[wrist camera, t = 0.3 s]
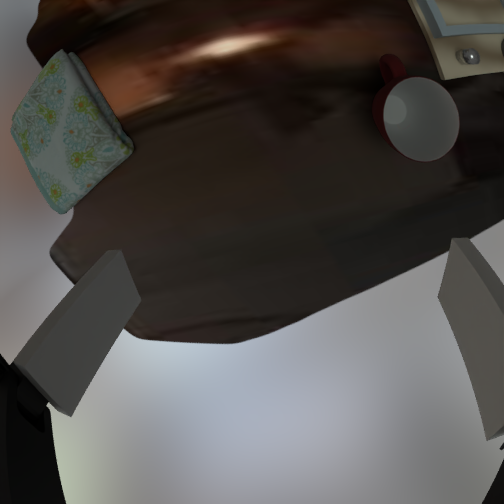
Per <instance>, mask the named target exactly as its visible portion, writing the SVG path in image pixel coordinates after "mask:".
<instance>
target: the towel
mask: <svg viewBox="0 0 504 504" xmlns="http://www.w3.org/2000/svg"><path fill="white" fill-rule="evenodd" d="M12 121H13V124H12V127H11V134H12V136H13V138H14V140H15V142H16V144H17V146H18V147H19V149H20V152H21V154H22V156H23V158H24V160H25V162H26V165H27V167H28V169H29V171H30V173H31V175H32V177H33V179H34V181H35V182H36V185H37V186H38V188H39V190H40V192H41V193H42V194H43V196H44V198H45V199H46V201H47V202H48V204H49V205H50V207H51V208H52V209H53V210H55V211H56V212H58V213H59V214H65V213H67V211H68V210H70V209H71V208H72V207H73V206H75V205H76V204H77V203H78V202H79V201H80V200H81V199H82V198H83V197H84V196H85V195H86V194H87V193H88V192H89V191H90V190H91V189H92V188H94V187H95V186H96V185H97V184H98V183H99V182H100V181H101V180H102V179H103V178H104V177H105V176H107V175H108V174H109V173H110V172H111V171H113V170H114V169H115V168H116V167H117V166H119V165H120V164H121V163H122V162H123V161H124V160H125V159H127V158H128V157H129V156H130V155H131V154H132V153H133V151H134V146H133V142H132V140H131V139H130V138H129V137H128V136H126V134H125V133H124V132H123V130H122V127H121V124H120V122H119V121H118V119H117V118H116V116H115V115H114V113H113V111H112V110H111V108H110V107H109V105H108V103H107V102H106V100H105V98H104V97H103V95H102V93H101V92H100V90H99V89H98V87H97V86H96V84H95V82H94V81H93V79H92V77H91V76H90V74H89V72H88V71H87V69H86V67H85V65H84V64H83V63H82V61H81V59H80V58H79V57H78V56H77V55H75V53H73V52H70V53H69V54H66V53H65V52H64V50H63V49H61V50H60V51H59V52H57V53H56V54H55V55H54V56H53V57H52V58H51V59H50V60H49V61H48V63H47V64H46V65H45V67H44V68H43V70H42V71H41V72H40V74H39V75H38V77H37V78H36V80H35V81H34V83H33V85H32V86H31V88H30V89H29V91H28V93H27V94H26V96H25V97H24V99H23V100H22V101H21V103H20V105H19V106H18V108H17V110H16V111H15V113H14V115H13V117H12Z"/></svg>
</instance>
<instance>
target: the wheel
mask: <svg viewBox="0 0 504 504" xmlns="http://www.w3.org/2000/svg"><path fill="white" fill-rule="evenodd" d="M501 50H502V54H503V56H504V39H503V40H502V43H501Z"/></svg>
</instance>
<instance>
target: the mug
mask: <svg viewBox="0 0 504 504" xmlns="http://www.w3.org/2000/svg"><path fill="white" fill-rule="evenodd" d="M379 64H380V70H381V73H382V76H383V79H384V81H385V84H386V85H385V86H384V87H382V88H381V89H380V90H379V91H378V92H377V94H376V95H375V97H374V100H373V103H372V115H373V119H374V121H375V124H376V126H377V128H378V130H379V132H380V133H381V135H382V137H383V138H384V139H385V141H386V142H387V143H388V144H389V145H390V146H391V147H392V148H393V149H395V150H396V151H397V152H399V153H400V154H402V155H403V156H405V157H406V158H409V159H411V160H414V161H417V162H432V161H435V160H438V159H440V158H442V157H443V156H445V155H446V154H447V153H448V152H449V151H450V150H451V149H452V147H453V146H454V144H455V142H456V140H457V137H458V134H459V128H460V119H459V113H458V109H457V106H456V104H455V101H454V100H453V98H452V96H451V95H450V93H449V92H448V91H447V90H446V89H445V88H444V87H443V86H442V85H441V84H439V83H438V82H436V81H434V80H432V79H429V78H426V77H421V76H409V75H407V73H406V70H405V67H404V65H403V63H402V62H401V60H400V59H399V58H398V57H396V56H395V55H392V54H386V55H383V56H382V57H381V58H380V61H379Z"/></svg>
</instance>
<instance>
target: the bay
mask: <svg viewBox="0 0 504 504" xmlns="http://www.w3.org/2000/svg"><path fill="white" fill-rule="evenodd" d="M416 1H417V3H418V5H419V7H420V9H421V11H422V13H423V15H424V17H425V19H426V22H427V24H428V26H429V28H430V30H431V33H432V35H433V37H434V39H435V38H443V37H452V36H462V35H477V34H504V24H467V25H452V26H447V25H446V23H445V21H444V19H443V17H442V14H441V12H440V10H439V8H438V6H437V4H436V2H435V0H416ZM500 2H501V4H502V6H503V8H504V0H500Z"/></svg>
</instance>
